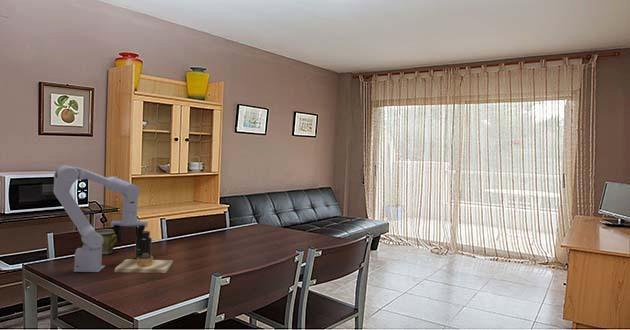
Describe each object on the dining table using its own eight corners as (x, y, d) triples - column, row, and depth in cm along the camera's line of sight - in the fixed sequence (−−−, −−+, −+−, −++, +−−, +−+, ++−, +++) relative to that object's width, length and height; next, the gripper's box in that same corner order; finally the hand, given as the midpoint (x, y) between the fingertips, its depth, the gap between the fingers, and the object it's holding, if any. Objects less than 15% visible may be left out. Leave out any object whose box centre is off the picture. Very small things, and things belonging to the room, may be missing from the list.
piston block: (114, 272, 177) (115, 257, 177) (125, 262, 191) (125, 249, 191) (165, 273, 179) (166, 258, 179) (172, 263, 193) (173, 250, 193)
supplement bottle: (133, 259, 197) (134, 233, 196) (137, 255, 203) (137, 230, 203) (149, 259, 198) (150, 233, 197) (152, 255, 204) (153, 230, 204)
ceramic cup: (88, 252, 204) (89, 231, 203) (106, 248, 213) (107, 228, 212) (107, 257, 198) (108, 235, 198) (126, 252, 207) (126, 231, 207)
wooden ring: (135, 266, 182) (135, 258, 182) (139, 262, 188) (139, 255, 188) (150, 266, 182) (150, 259, 182) (154, 262, 188) (154, 255, 188)
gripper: (109, 212, 182) (108, 245, 183) (145, 213, 185) (144, 245, 185) (113, 210, 189) (112, 241, 189) (149, 210, 191) (148, 241, 192)
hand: (128, 243), depth 188 cm, fingers open, 7 cm apart
